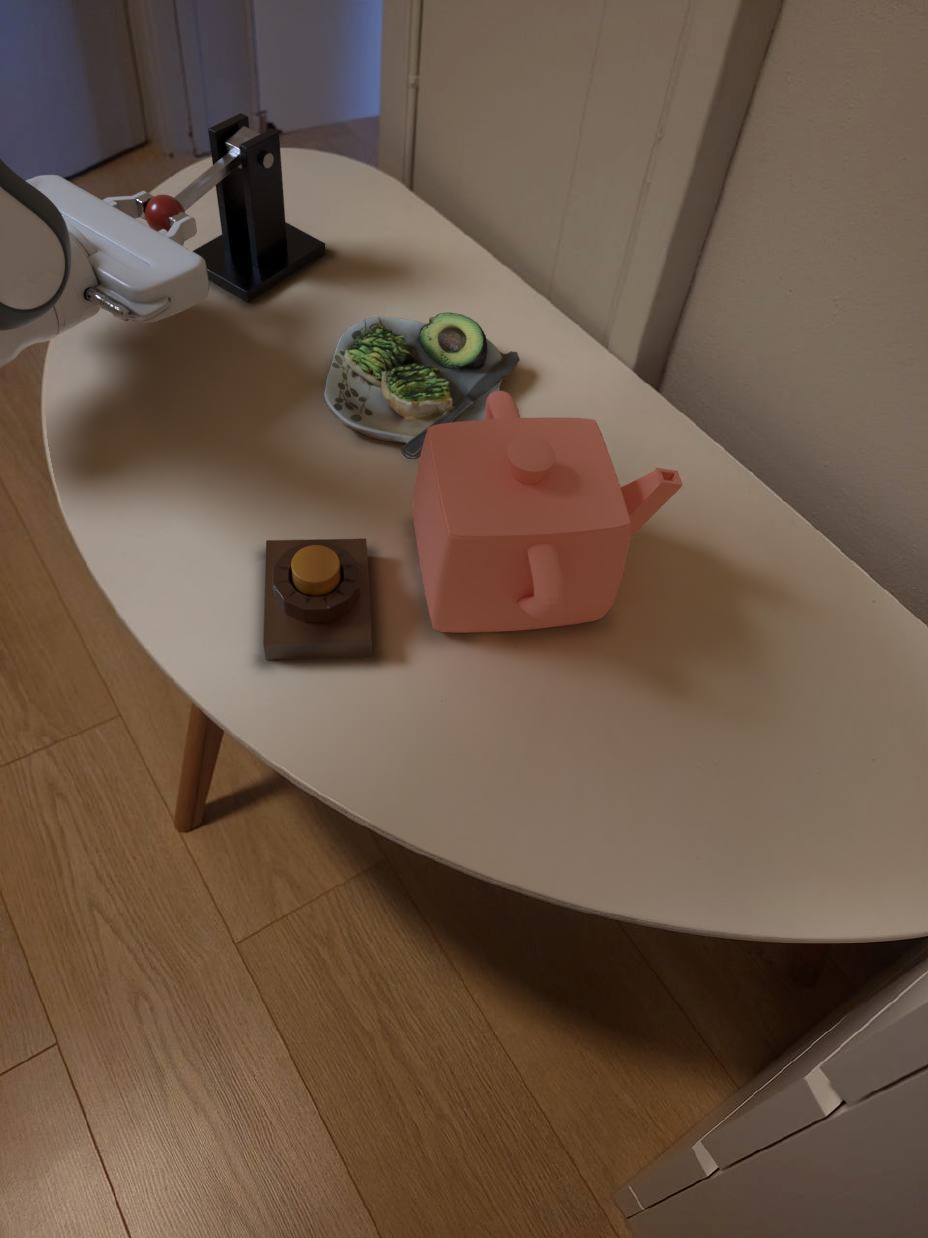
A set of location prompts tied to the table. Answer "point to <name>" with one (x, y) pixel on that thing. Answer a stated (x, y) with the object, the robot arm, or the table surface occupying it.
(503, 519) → the teapot
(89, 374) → the table surface
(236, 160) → the lever
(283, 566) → the button block
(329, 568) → the button
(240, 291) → the bracket
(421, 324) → the plate of avocado toast
